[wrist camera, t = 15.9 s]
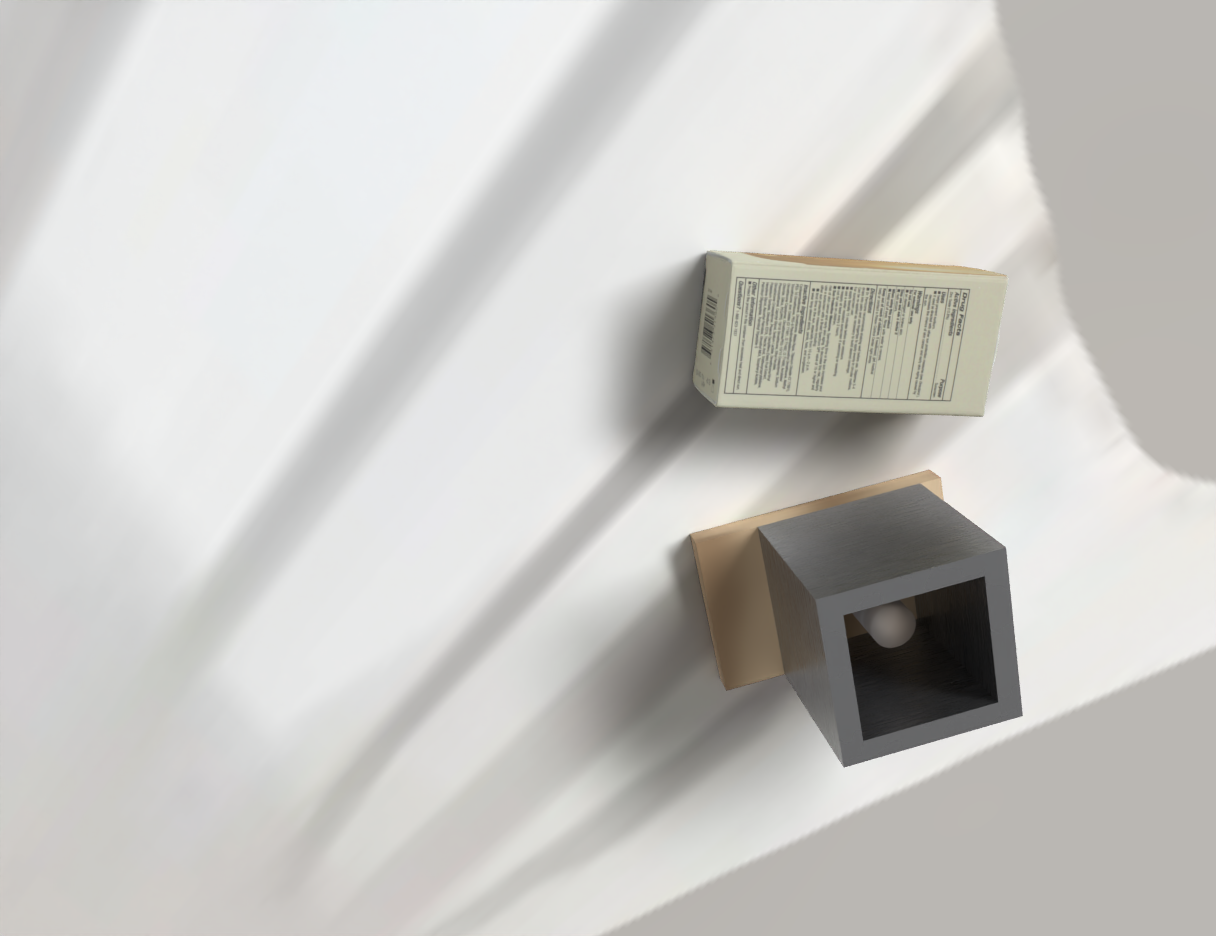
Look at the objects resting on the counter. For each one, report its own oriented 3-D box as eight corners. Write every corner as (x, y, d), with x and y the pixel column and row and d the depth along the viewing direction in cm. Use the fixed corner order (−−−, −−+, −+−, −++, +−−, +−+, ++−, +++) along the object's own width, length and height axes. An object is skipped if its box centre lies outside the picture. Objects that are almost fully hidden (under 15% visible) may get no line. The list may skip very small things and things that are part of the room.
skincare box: (687, 385, 49) (939, 401, 51) (712, 409, 44) (984, 425, 47) (705, 240, 47) (966, 264, 49) (732, 251, 43) (1015, 276, 45)
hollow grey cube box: (784, 674, 53) (843, 767, 45) (757, 526, 50) (815, 599, 42) (938, 631, 53) (1022, 715, 46) (920, 483, 51) (1005, 547, 43)
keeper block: (720, 678, 54) (755, 747, 48) (690, 533, 51) (723, 588, 45) (947, 614, 54) (1009, 674, 49) (929, 469, 52) (993, 514, 46)
